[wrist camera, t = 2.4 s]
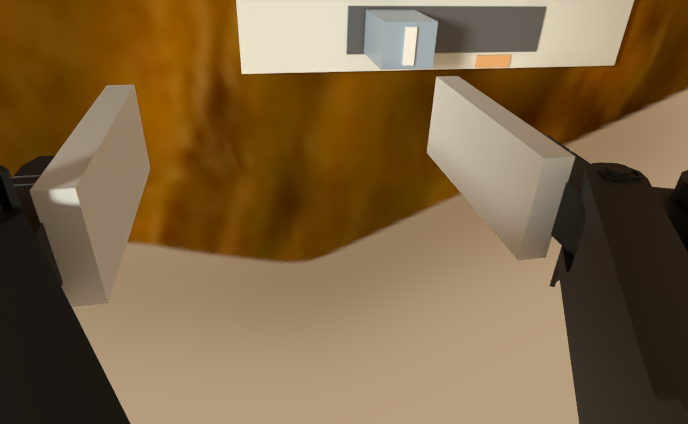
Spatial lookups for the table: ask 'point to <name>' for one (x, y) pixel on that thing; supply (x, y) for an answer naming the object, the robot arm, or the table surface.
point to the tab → (400, 39)
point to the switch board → (451, 40)
